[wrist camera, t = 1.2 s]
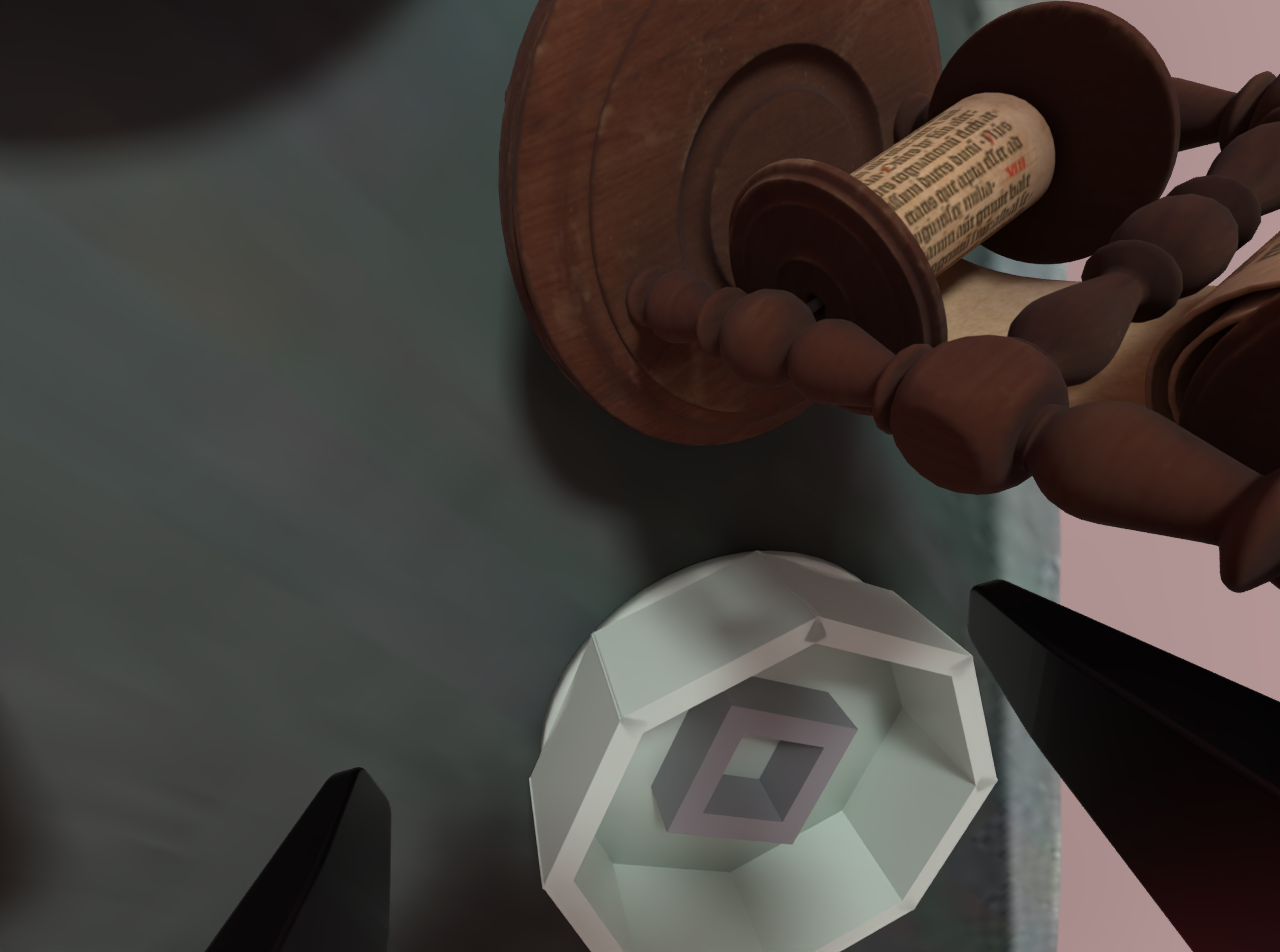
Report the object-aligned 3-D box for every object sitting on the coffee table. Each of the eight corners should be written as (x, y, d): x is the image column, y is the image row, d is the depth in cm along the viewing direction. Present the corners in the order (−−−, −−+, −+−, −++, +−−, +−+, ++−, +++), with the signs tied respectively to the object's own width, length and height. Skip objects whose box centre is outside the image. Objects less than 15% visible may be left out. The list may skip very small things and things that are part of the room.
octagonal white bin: (801, 878, 36) (862, 993, 30) (483, 855, 29) (487, 996, 24) (963, 601, 31) (1068, 677, 26) (633, 501, 25) (681, 574, 20)
